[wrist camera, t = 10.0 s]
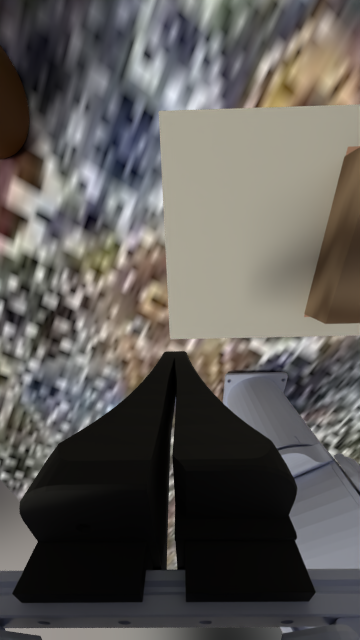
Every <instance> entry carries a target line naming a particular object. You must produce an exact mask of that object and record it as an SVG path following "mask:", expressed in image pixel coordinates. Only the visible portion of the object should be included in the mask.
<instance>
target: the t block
mask: <svg viewBox="0 0 360 640" xmlns="http://www.w3.org/2000/svg"><path fill="white" fill-rule="evenodd" d="M304 314H305V315H307V316H309V317H312V318H314V319H316V320H318V321H320V322H322V323H324V324H350V323H360V147H359V148H358V149H356V150H354V151H353V152H351V153H349V154H348V155H346V156H344V160H343V164H342V168H341V172H340V176H339V179H338V183H337V187H336V191H335V195H334V199H333V203H332V207H331V211H330V215H329V219H328V223H327V226H326V230H325V234H324V238H323V242H322V246H321V250H320V254H319V258H318V262H317V266H316V270H315V274H314V277H313V281H312V285H311V289H310V293H309V297H308V301H307V305H306V309H305V313H304Z"/></svg>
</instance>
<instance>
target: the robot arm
mask: <svg viewBox="0 0 360 640" xmlns="http://www.w3.org/2000/svg"><path fill="white" fill-rule="evenodd" d="M287 378H288V375H287V374H286V373H285V372H259V373H227V374H226V375H225V384H224V395H223V403H222V402H221V401H220V400H219V399H218V398H217V397H216V396H215V395H214V394H213V393H212V391H211V390H210V389H209V388H208V387H207V386H206V384H205V383H204V382H203V381H202V379H201V378H200V377H199V375H198V374H197V372H196V371H195V369H194V367H193V366H192V364H191V362H190V360H189V358H188V356H187V353H186V352H185V351H178V352H164V353H163V355H162V357H161V358H160V360H159V361H158V363H157V364H156V366H155V367H154V368H153V370H152V371H151V372H150V374H149V375H148V376H147V377H146V378H145V379H144V381H143V382H142V383H141V384H140V385H139V386H138V387H137V388H136V389H135V390H134V391H133V392H132V393H131V394H130V395H129V396H128V397H126V398H125V399H124V400H123V401H122V402H121V403H119V404H118V405H117V406H116V407H114V408H113V409H112V410H111V411H109V412H108V413H106V414H105V415H104V416H102V417H101V418H99V419H98V420H96V421H95V422H94V423H92V424H90V425H89V426H87V427H86V428H84V429H82V430H81V431H79V432H78V433H76V434H74V435H73V436H71V437H69V438H68V439H66V440H64V441H63V442H61V443H59V444H58V446H57V447H56V448H55V450H54V451H53V452H52V454H51V455H50V457H49V458H48V459H47V461H46V463H45V464H44V466H43V467H42V469H41V470H40V472H39V473H38V475H37V476H36V478H35V480H34V481H33V483H32V484H31V486H30V487H29V489H28V490H27V492H26V493H25V495H24V497H23V498H22V500H21V501H20V515H21V517H22V519H23V521H24V522H25V524H26V525H27V526H28V528H29V529H30V531H31V532H32V534H33V535H34V537H35V538H36V539H37V541H38V543H37V545H36V547H35V549H34V551H33V553H32V555H31V557H30V559H29V561H28V563H27V565H26V567H25V569H24V571H0V640H42V639H41V637H40V636H37V635H30V634H23V633H16V632H9V631H5V628H123V627H124V628H144V627H145V628H150V627H152V628H153V627H154V628H156V627H280V628H281V630H282V632H283V634H282V638H281V640H360V465H359V464H358V463H357V462H356V461H355V460H354V459H351V458H349V457H345V456H344V455H343V454H341V453H339V454H336V455H334V457H335V459H336V460H337V461H338V463H339V464H340V465H339V464H338V463H337V462H336V460H335V459H334V458H333V457H332V456H331V454H330V453H329V452H328V451H327V450H326V449H325V447H324V446H323V445H322V444H321V443H320V441H319V440H318V439H317V437H316V436H315V435H314V433H313V432H312V431H311V429H310V428H309V427H308V425H307V424H306V423H305V421H304V420H303V419H302V417H301V416H300V415H299V413H298V412H297V411H296V409H295V408H294V407H293V405H292V404H291V403H290V401H289V400H288V399H287V397H286V396H285V395H284V390H285V386H286V382H287ZM229 379H230V380H229ZM228 380H229V381H228ZM175 397H176V415H175V430H174V443H173V455H172V456H173V472H174V489H175V541H176V554H177V570H167V532H168V498H169V468H170V442H171V430H172V422H173V414H174V405H175ZM342 468H343V469H342Z"/></svg>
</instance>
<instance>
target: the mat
mask: <svg viewBox="0 0 360 640" xmlns="http://www.w3.org/2000/svg"><path fill="white" fill-rule="evenodd" d="M159 123H160V144H161V164H162V184H163V205H164V225H165V245H166V265H167V286H168V306H169V326H170V339H203V338H253V337H304V336H354V335H360V323H350V324H324V323H322V322H320V321H318V320H316V319H314V318H312V317H309V316H307V315H305V314H304V313H305V309H306V305H307V301H308V297H309V293H310V289H311V285H312V281H313V277H314V274H315V270H316V266H317V262H318V258H319V254H320V250H321V246H322V242H323V238H324V234H325V230H326V226H327V223H328V219H329V215H330V211H331V207H332V203H333V199H334V195H335V191H336V187H337V183H338V179H339V176H340V172H341V168H342V164H343V160H344V156H346V155H348V154H349V153H351V152H353V151H354V150H356V149H358V148H359V147H360V105H330V106H300V107H270V108H239V109H209V110H179V111H159Z"/></svg>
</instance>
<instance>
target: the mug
mask: <svg viewBox="0 0 360 640" xmlns="http://www.w3.org/2000/svg"><path fill="white" fill-rule="evenodd" d="M28 130H29V107H28V102H27V97H26V94H25V91H24V88H23V85H22V82H21V80H20V77H19V75H18V73H17V71H16V69H15V67H14V65H13V64H12V62H11V60H10V59H9V57H8V56H7V54H6V53H5V51H4V50H3V48H2V47H1V46H0V159H4V158H8V157H11V156H12V155H14V154H16V153H17V152H18V151H19V150H20V149H21V147H22V146H23V144H24V143H25V140H26V138H27V135H28Z"/></svg>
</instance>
